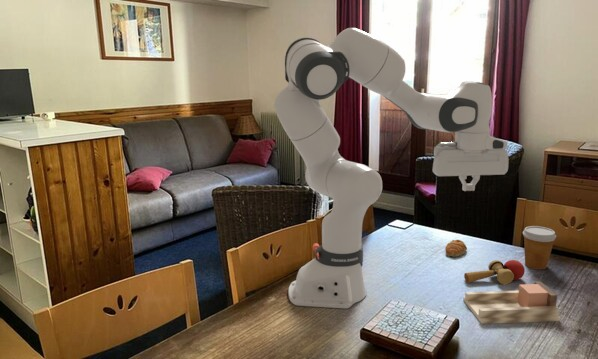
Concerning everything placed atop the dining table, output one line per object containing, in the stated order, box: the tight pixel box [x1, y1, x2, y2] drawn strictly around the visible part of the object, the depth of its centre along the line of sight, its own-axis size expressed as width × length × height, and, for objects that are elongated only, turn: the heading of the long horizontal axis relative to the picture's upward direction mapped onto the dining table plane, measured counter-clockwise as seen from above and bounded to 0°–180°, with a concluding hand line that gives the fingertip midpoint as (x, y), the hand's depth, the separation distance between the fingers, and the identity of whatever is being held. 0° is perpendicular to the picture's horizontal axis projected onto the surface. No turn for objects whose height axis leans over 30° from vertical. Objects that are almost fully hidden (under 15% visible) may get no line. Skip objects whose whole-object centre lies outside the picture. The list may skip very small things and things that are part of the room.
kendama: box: [463, 259, 526, 285], centre depth 138 cm, size 8×6×18 cm
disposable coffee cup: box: [522, 225, 557, 270], centre depth 147 cm, size 10×10×12 cm
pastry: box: [444, 239, 468, 258], centre depth 159 cm, size 9×7×4 cm
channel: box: [463, 281, 561, 325], centre depth 120 cm, size 20×12×6 cm, turn 92°
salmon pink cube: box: [518, 283, 548, 307], centre depth 120 cm, size 5×5×5 cm
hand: (468, 190), depth 129 cm, fingers closed
